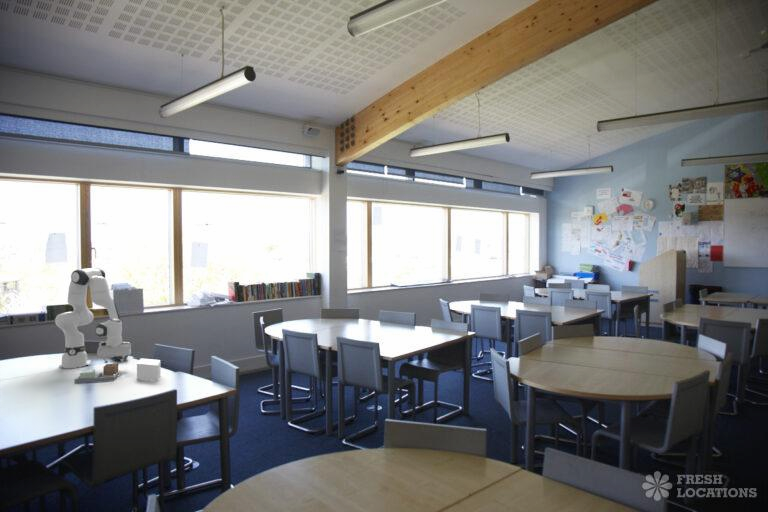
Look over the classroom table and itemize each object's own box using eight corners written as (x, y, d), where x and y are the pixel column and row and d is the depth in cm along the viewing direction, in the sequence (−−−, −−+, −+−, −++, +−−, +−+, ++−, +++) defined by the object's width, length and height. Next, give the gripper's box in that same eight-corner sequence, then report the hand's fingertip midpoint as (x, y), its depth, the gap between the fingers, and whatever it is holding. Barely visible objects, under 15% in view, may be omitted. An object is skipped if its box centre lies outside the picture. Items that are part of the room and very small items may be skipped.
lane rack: (81, 377, 303) (81, 373, 303) (119, 374, 310) (119, 371, 310) (74, 383, 289) (74, 379, 289) (114, 380, 296) (114, 376, 296)
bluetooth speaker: (111, 357, 365) (111, 344, 365) (125, 355, 370) (125, 342, 370) (115, 362, 346) (115, 348, 346) (129, 360, 352) (129, 347, 352)
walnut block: (109, 370, 322) (109, 361, 322) (120, 369, 324) (120, 361, 324) (103, 376, 308) (103, 366, 308) (115, 375, 310) (115, 366, 310)
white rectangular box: (145, 384, 289) (145, 367, 289) (128, 375, 309) (129, 360, 309) (169, 379, 300) (169, 363, 300) (152, 371, 320) (152, 356, 320)
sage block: (82, 379, 298) (82, 370, 298) (94, 378, 301) (95, 369, 301) (80, 382, 291) (80, 373, 291) (93, 381, 294) (93, 372, 294)
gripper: (132, 341, 329) (131, 360, 329) (98, 342, 323) (98, 362, 323) (130, 342, 323) (130, 362, 323) (96, 343, 317) (95, 364, 317)
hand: (113, 362), depth 323 cm, fingers open, 8 cm apart
